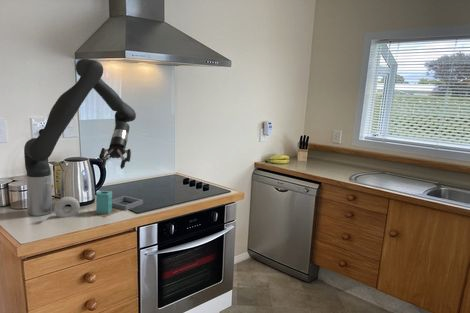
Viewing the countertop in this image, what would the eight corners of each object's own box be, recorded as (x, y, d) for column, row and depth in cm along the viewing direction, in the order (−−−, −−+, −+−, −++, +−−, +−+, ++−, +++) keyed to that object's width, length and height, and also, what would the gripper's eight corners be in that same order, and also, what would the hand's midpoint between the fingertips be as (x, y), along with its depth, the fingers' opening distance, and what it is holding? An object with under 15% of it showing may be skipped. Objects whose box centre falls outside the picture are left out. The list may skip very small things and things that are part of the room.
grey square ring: (106, 208, 166) (106, 201, 166) (124, 202, 177) (124, 195, 177) (125, 213, 161) (125, 206, 161) (142, 206, 172) (143, 199, 172)
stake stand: (87, 216, 155) (87, 202, 154) (104, 210, 164) (104, 196, 163) (104, 220, 151) (104, 206, 150) (120, 214, 160) (120, 200, 159)
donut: (55, 222, 146) (54, 199, 145) (54, 219, 149) (53, 196, 148) (80, 218, 152) (80, 196, 150) (79, 216, 155) (78, 194, 153)
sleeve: (96, 213, 155) (96, 194, 153) (100, 209, 160) (100, 190, 158) (108, 214, 155) (108, 194, 153) (112, 210, 160) (111, 191, 159)
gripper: (102, 135, 172) (95, 162, 162) (132, 136, 172) (126, 163, 163) (106, 144, 178) (99, 171, 169) (134, 145, 178) (129, 172, 169)
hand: (112, 167), depth 166 cm, fingers open, 8 cm apart
